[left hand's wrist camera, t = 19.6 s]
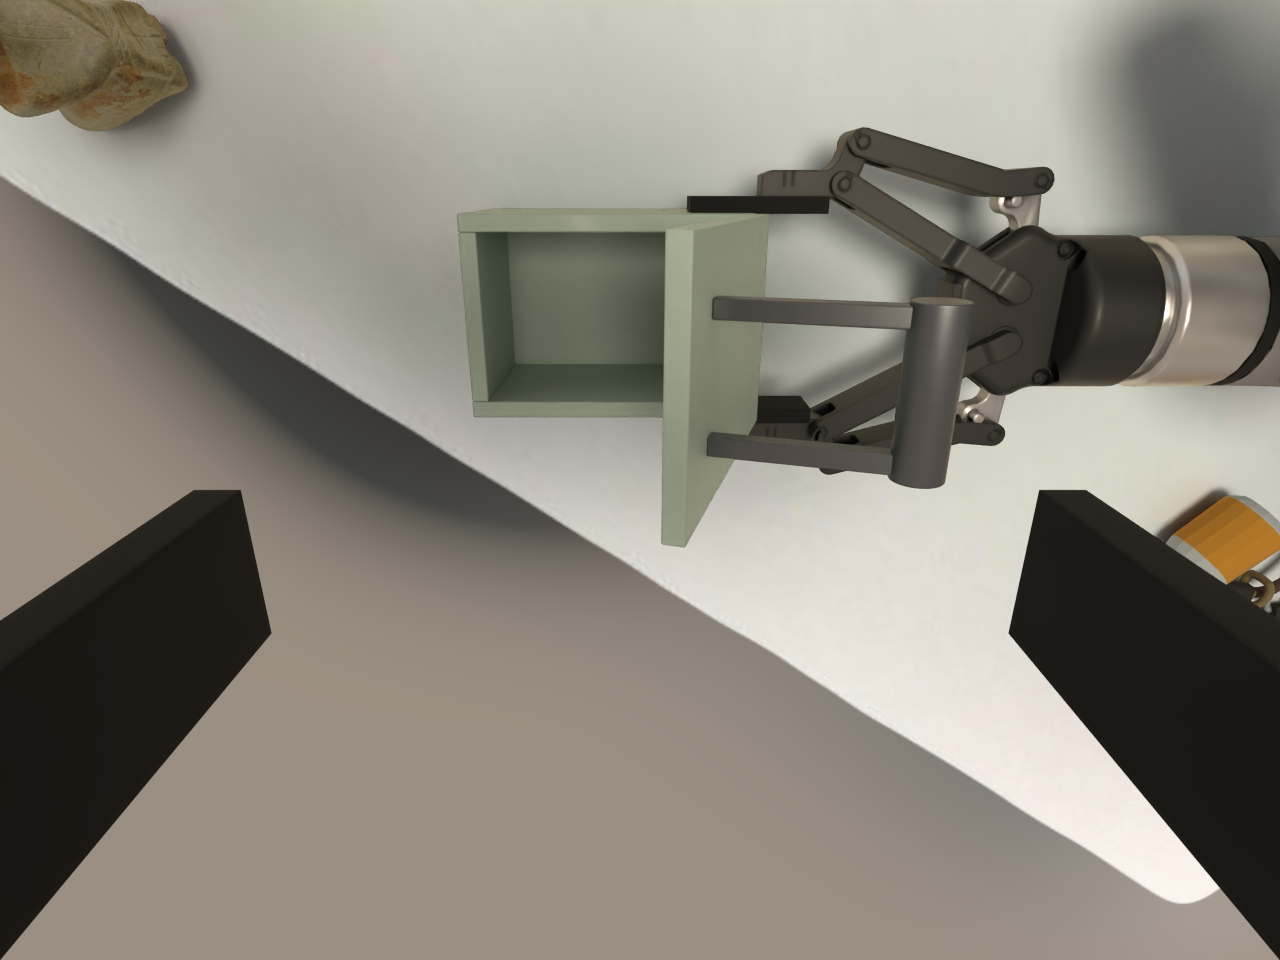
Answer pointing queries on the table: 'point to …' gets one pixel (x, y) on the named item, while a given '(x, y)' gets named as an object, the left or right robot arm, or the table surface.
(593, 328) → the chest
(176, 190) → the table surface
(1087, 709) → the left robot arm
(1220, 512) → the spray gun
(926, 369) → the lid
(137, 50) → the sculpture
